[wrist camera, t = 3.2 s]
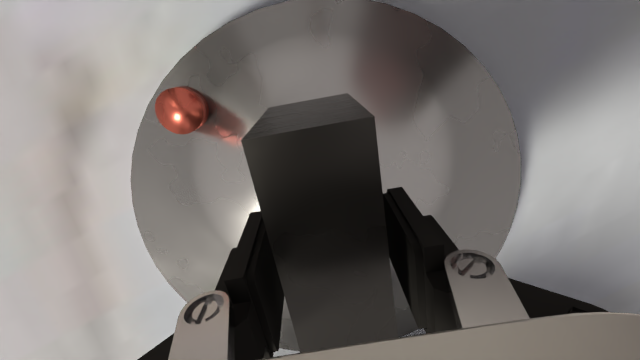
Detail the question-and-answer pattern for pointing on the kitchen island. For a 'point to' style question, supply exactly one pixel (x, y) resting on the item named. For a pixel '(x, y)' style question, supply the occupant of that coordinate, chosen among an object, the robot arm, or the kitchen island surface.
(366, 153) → the lid
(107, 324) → the kitchen island surface
